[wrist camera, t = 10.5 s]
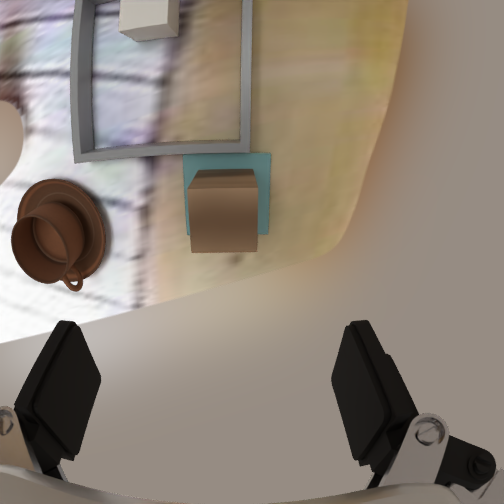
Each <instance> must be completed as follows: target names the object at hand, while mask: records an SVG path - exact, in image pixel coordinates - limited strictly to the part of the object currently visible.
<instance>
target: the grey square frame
mask: <svg viewBox="0 0 504 504" xmlns="http://www.w3.org/2000/svg"><path fill="white" fill-rule="evenodd" d="M110 1H114V0H76V1H75V9H74V18H73V28H72V42H71V63H70V104H71V127H72V141H73V153H74V163H75V164H76V163H83V162H92V161H100V160H109V159H119V158H130V157H142V156H156V155H173V154H196V153H250V118H251V54H252V0H242V27H241V85H240V140H198V141H177V142H160V143H147V144H136V145H125V146H116V147H107V148H99V149H94V139H93V122H92V44H93V28H94V16H95V6H96V5H98V4H102V3H106V2H110Z"/></svg>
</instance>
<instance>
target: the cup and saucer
mask: <svg viewBox="0 0 504 504" xmlns="http://www.w3.org/2000/svg"><path fill="white" fill-rule="evenodd" d="M105 244H106V236H105V229H104V224H103V221H102V218H101V216H100V213H99V211H98V209H97V208H96V206H95V204H94V203H93V201H92V200H91V199H90V198H89V196H88V195H87V194H86V193H85V192H84V191H82V190H81V189H80V188H79V187H77V186H76V185H74V184H72V183H70V182H68V181H65V180H60V179H47V180H43V181H40V182H38V183H36V184H34V185H33V186H31V187H30V188H29V189H28V190H27V191H26V193H25V194H24V196H23V197H22V199H21V202H20V205H19V208H18V214H17V222H16V224H15V225H14V228H13V230H12V235H11V245H12V250H13V253H14V256H15V259H16V261H17V262H18V264H19V266H20V267H21V268H22V270H23V271H24V272H25V273H26V274H27V275H28V276H30V277H31V278H32V279H34V280H36V281H38V282H41V283H45V284H51V283H55V282H57V281H59V280H61V281H63V282H64V283H65V284H66V286H67V287H68V288H69V289H70V290H72V291H75V292H77V291H79V290H80V289H81V288H82V286H83V279H85V278H87V277H89V276H90V275H92V274H93V273H94V272H95V271H96V269H97V268H98V267H99V265H100V263H101V261H102V258H103V255H104V251H105ZM75 281H78V284H77V285H73V284H71V282H75Z"/></svg>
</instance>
